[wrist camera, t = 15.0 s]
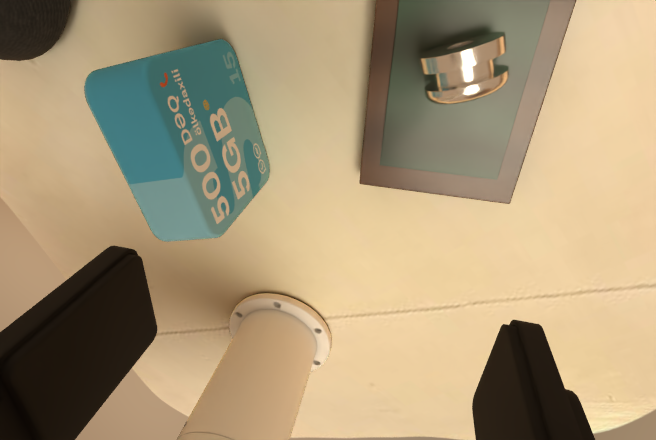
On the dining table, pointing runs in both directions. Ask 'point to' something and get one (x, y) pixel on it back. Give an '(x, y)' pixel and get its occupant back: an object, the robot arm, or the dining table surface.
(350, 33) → the dining table surface
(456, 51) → the metal grooved wheel
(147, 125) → the data package
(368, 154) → the desk pad
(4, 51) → the candelabra
